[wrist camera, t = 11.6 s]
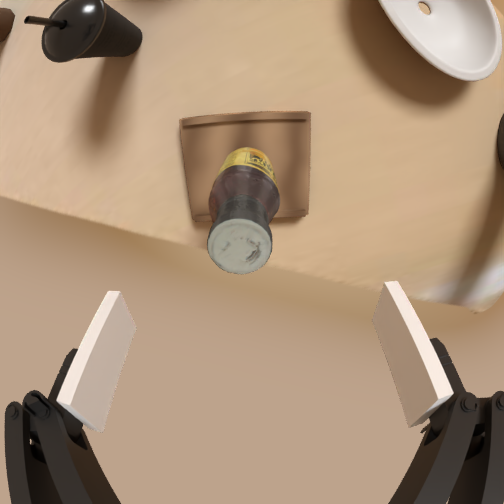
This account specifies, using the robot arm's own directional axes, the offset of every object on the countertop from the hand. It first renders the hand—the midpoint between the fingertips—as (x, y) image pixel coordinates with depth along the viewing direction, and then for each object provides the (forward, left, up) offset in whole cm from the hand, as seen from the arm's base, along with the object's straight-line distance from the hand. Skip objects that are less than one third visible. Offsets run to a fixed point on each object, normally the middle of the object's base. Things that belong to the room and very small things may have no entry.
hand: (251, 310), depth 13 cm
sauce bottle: (0, 0, -25) cm, 25 cm away
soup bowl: (-27, -27, -27) cm, 47 cm away
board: (0, 0, -27) cm, 27 cm away
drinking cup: (+15, -20, -27) cm, 37 cm away
